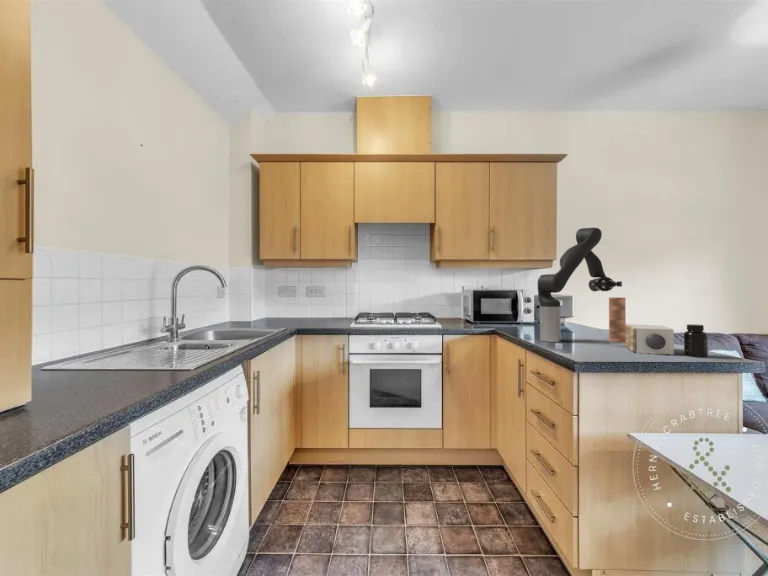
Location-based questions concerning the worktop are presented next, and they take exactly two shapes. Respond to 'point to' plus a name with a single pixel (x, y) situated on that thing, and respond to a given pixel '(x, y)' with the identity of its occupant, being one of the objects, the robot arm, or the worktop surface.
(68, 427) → the worktop surface
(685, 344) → the supplement bottle
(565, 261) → the robot arm
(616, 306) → the wooden block
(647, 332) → the housing
